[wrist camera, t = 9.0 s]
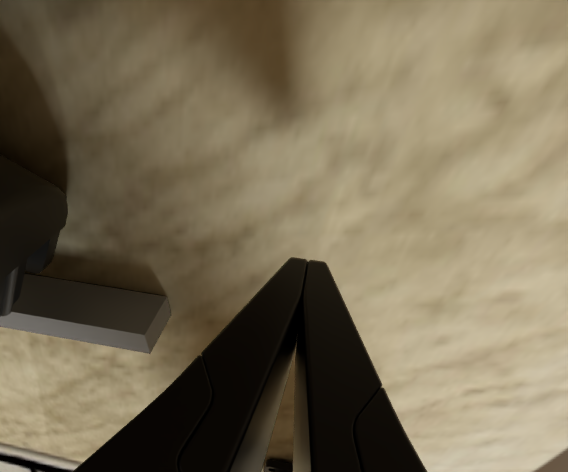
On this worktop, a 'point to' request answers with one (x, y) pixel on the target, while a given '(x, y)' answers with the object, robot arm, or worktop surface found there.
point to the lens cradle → (89, 313)
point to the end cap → (26, 227)
